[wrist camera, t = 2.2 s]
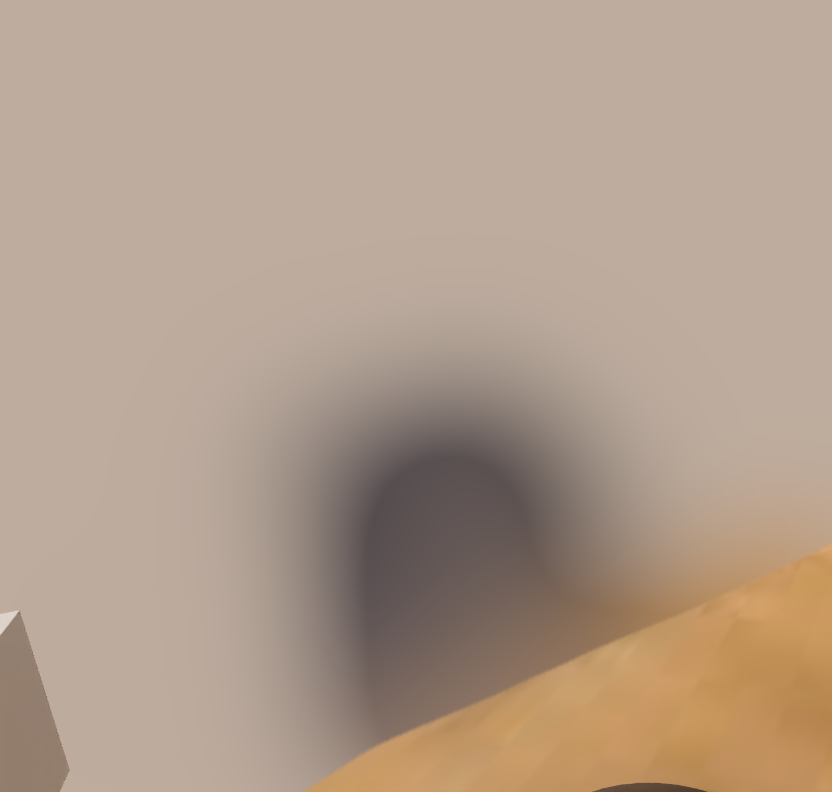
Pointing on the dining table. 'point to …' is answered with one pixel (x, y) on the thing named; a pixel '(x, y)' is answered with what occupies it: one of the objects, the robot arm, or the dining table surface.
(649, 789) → the disc
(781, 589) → the dining table surface
